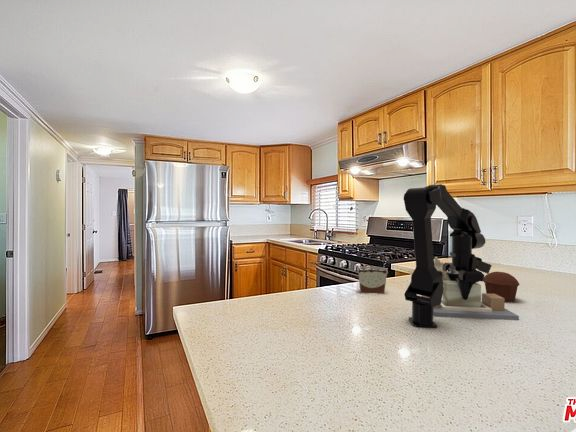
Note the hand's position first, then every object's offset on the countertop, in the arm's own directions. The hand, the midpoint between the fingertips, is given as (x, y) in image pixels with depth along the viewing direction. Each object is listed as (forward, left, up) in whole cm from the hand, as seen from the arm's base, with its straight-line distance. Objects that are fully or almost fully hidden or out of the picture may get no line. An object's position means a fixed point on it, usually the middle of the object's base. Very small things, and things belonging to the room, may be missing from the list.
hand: (461, 297), depth 105 cm
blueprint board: (0, 0, -4) cm, 4 cm away
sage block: (0, 0, -3) cm, 3 cm away
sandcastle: (+27, -4, -5) cm, 28 cm away
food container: (+21, +26, -5) cm, 34 cm away
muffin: (+17, -21, -5) cm, 27 cm away
